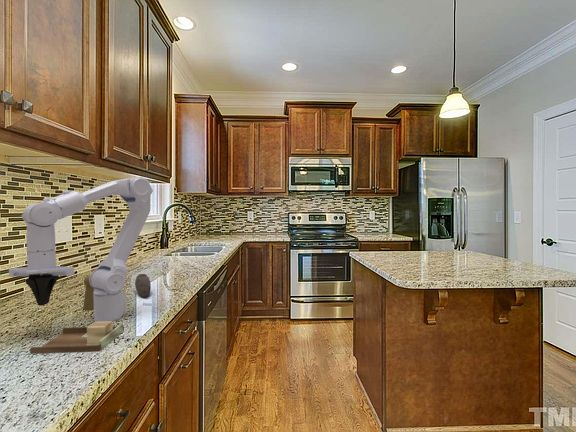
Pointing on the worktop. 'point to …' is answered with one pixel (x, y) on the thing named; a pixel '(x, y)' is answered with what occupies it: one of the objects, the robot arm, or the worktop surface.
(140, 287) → the perforated stone tool
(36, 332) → the worktop surface
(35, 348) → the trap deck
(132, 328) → the worktop surface
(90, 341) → the maple cube
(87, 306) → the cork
